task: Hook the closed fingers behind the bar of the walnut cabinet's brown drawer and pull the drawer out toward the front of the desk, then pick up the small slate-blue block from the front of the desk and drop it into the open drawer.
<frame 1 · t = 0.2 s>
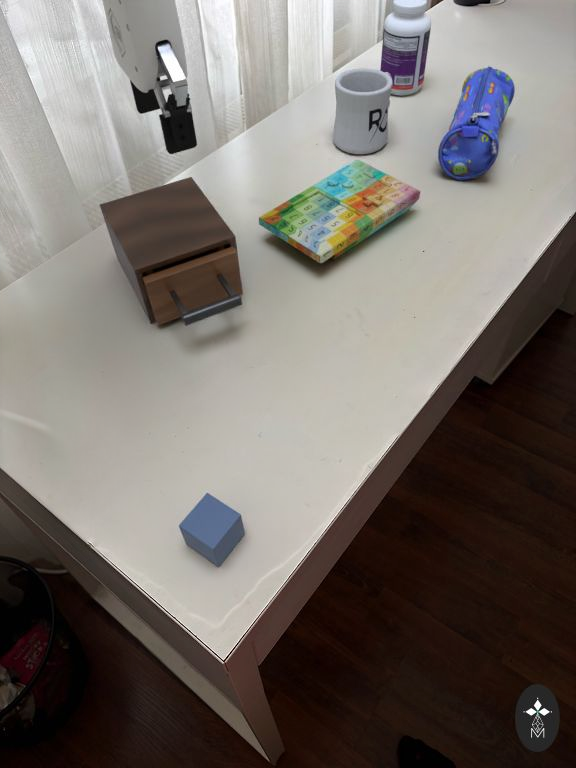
hand: (166, 128, 64), 20 cm above the table, tool pointing down, fingers open, 9 cm apart
cabinet: (177, 273, 79), on the table
pill bottle: (400, 88, 110), on the table
mug: (365, 138, 99), on the table
drawer: (185, 270, 73), point 4 cm above the table, slide at 0.5 cm
puzzle game: (339, 228, 85), on the table
pencil case: (471, 149, 96), on the table
block: (215, 538, 55), on the table
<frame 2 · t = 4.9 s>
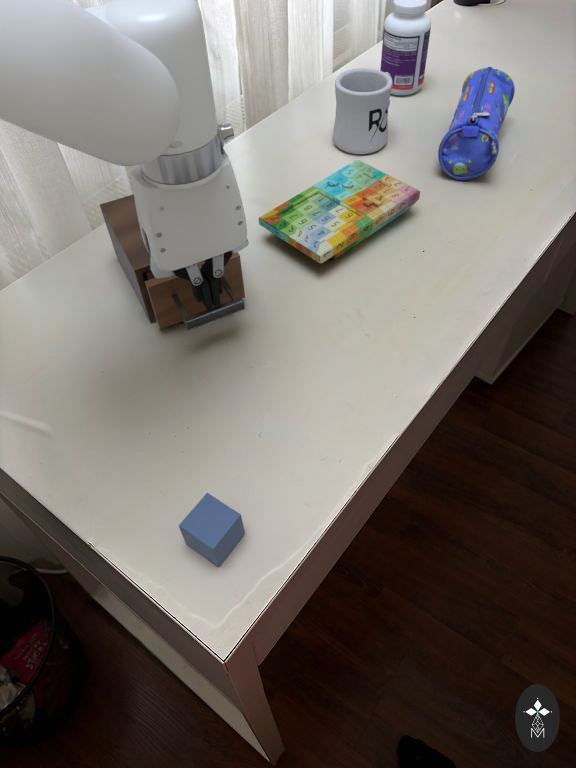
hand: (209, 300, 67), 6 cm above the table, tool pointing down, fingers closed
drawer: (187, 274, 73), point 4 cm above the table, slide at 1.3 cm, touching gripper
everything else where it was.
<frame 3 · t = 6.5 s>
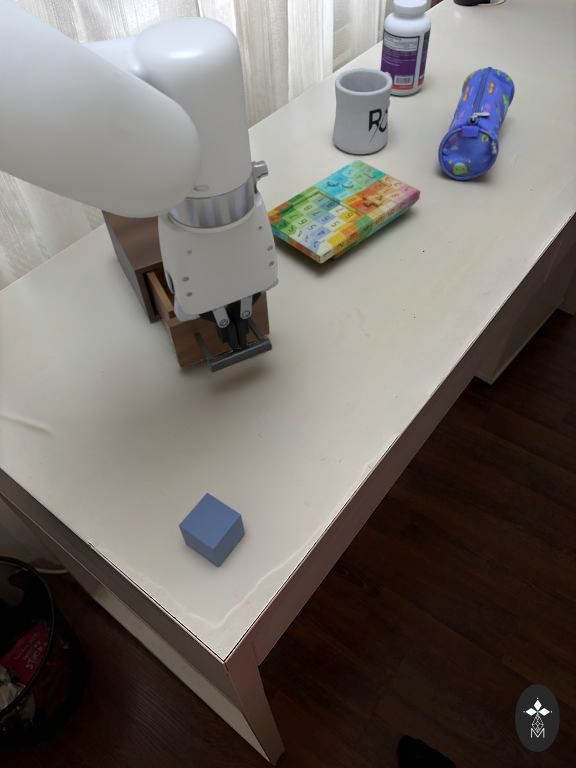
hand: (234, 340, 63), 6 cm above the table, tool pointing down, fingers closed
drawer: (209, 309, 69), point 4 cm above the table, slide at 8.4 cm, touching gripper
everything else where it was.
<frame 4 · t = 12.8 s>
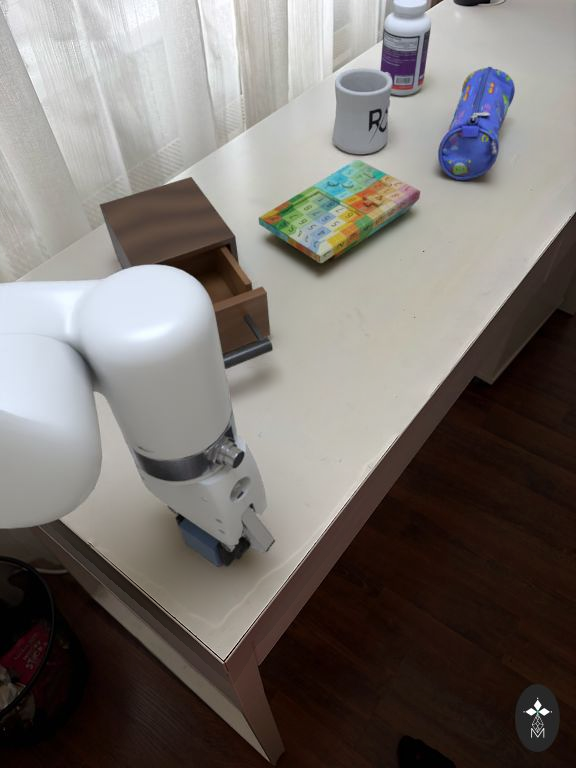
hand: (215, 537, 55), 0 cm above the table, tool pointing down, fingers closed on block, 4 cm apart
drawer: (210, 310, 68), point 4 cm above the table, slide at 8.6 cm
block: (215, 538, 55), on the table, touching gripper
everything else where it was.
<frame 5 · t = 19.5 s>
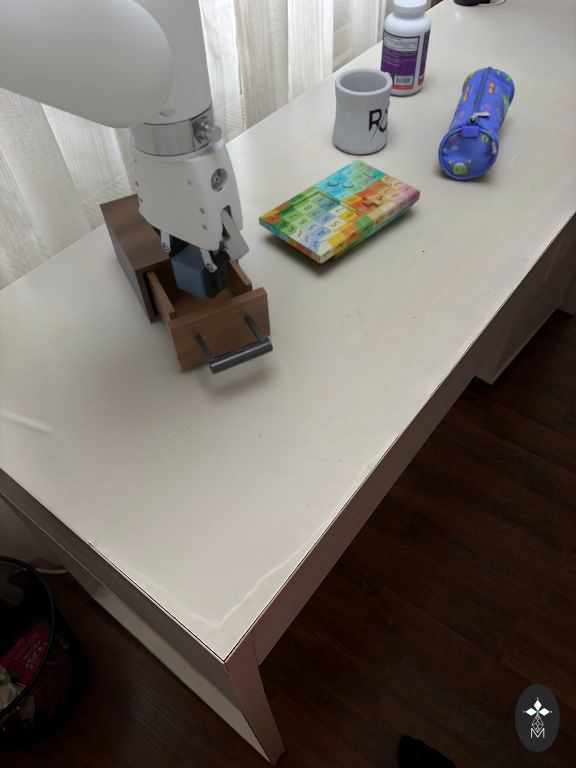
hand: (201, 281, 66), 8 cm above the table, tool pointing down, fingers closed on block, 4 cm apart
block: (202, 283, 66), point 8 cm above the table, touching gripper
everything else where it was.
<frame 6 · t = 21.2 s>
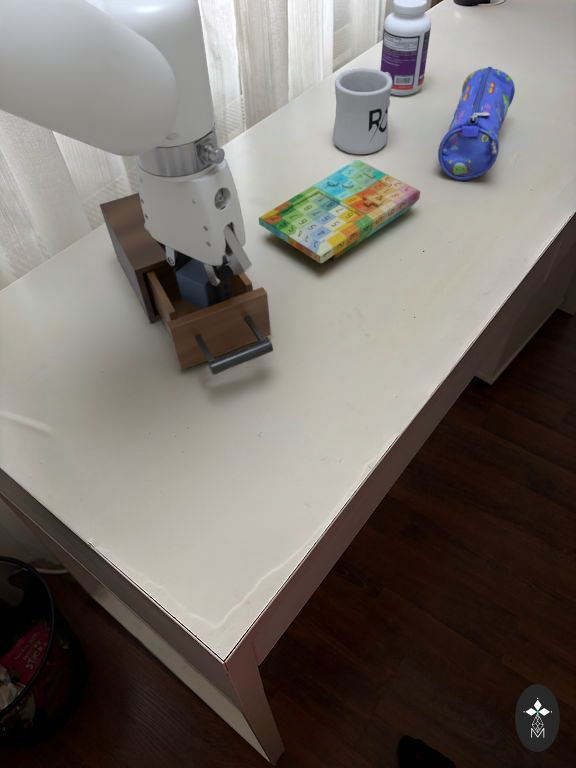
hand: (205, 294, 67), 6 cm above the table, tool pointing down, fingers closed on block, 4 cm apart
drawer: (210, 311, 68), point 4 cm above the table, slide at 8.7 cm, touching gripper
block: (206, 295, 68), point 6 cm above the table, touching gripper
everything else where it was.
when the fingers open (6 cm above the table, at t = 26.5 s): block drops 4 cm, resting on drawer.
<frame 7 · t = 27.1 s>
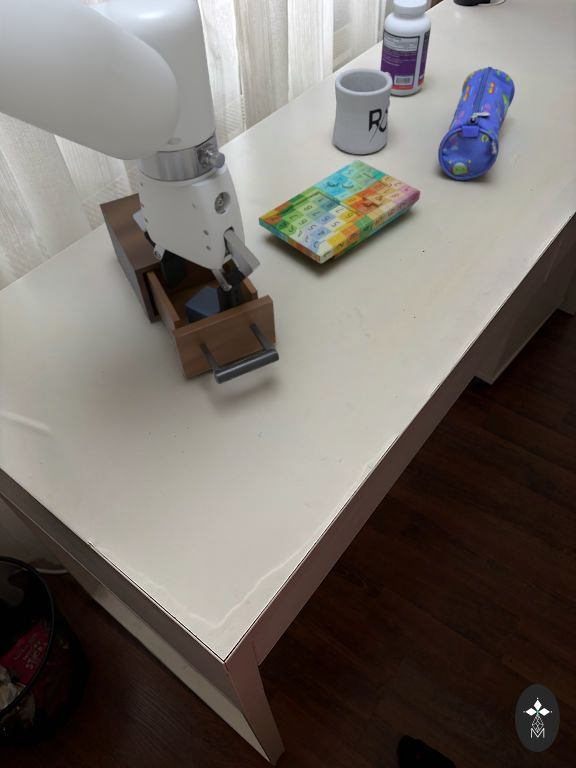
hand: (204, 294, 67), 6 cm above the table, tool pointing down, fingers open, 7 cm apart
drawer: (215, 318, 68), point 4 cm above the table, slide at 10.2 cm, touching block, gripper
block: (213, 325, 70), point 2 cm above the table, touching drawer
everything else where it was.
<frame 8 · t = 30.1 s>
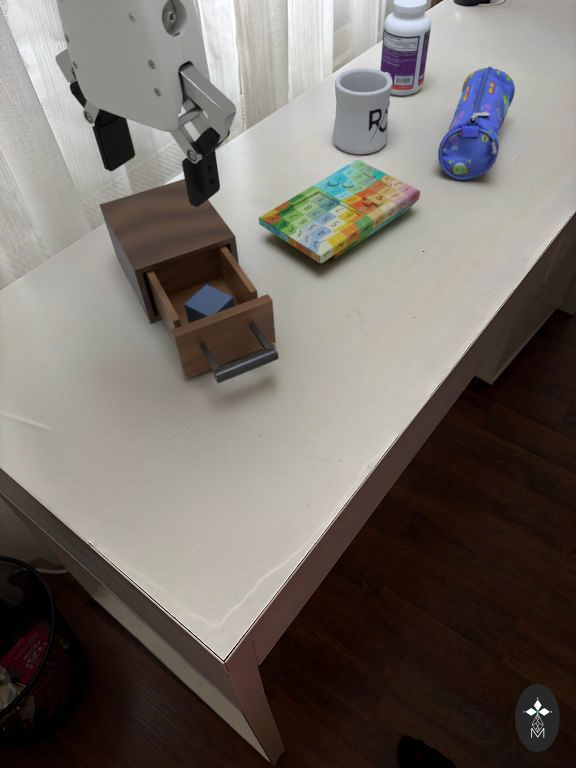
hand: (161, 180, 50), 24 cm above the table, tool pointing down, fingers open, 9 cm apart
drawer: (214, 318, 68), point 4 cm above the table, slide at 10.0 cm, touching block
everything else where it was.
at the end: drawer slide at 10.0 cm; block inside the target area in the drawer (1.6 cm from its centre), point 2.0 cm above the cabinet's base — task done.
